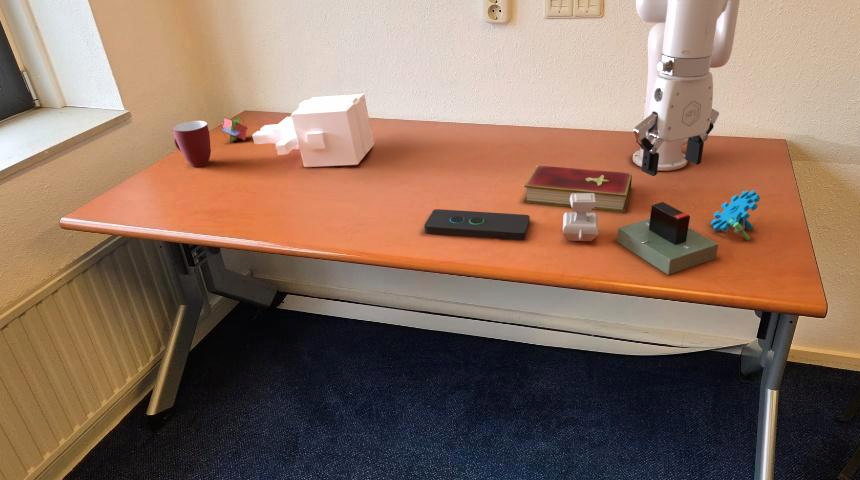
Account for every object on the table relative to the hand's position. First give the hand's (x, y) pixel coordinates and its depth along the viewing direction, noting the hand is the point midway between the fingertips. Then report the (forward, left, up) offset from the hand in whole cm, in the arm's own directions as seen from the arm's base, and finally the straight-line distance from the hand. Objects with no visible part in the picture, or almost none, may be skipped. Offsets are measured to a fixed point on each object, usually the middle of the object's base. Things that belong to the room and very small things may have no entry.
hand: (671, 167), depth 113 cm
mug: (+33, -112, -16) cm, 118 cm away
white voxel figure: (+11, -91, -16) cm, 93 cm away
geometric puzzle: (+17, -119, -16) cm, 121 cm away
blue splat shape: (-15, +7, -16) cm, 23 cm away
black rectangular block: (0, +1, -13) cm, 13 cm away
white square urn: (+6, -14, -16) cm, 22 cm away
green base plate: (0, +1, -16) cm, 16 cm away
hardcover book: (-10, -25, -16) cm, 31 cm away
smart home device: (+15, -32, -16) cm, 39 cm away
